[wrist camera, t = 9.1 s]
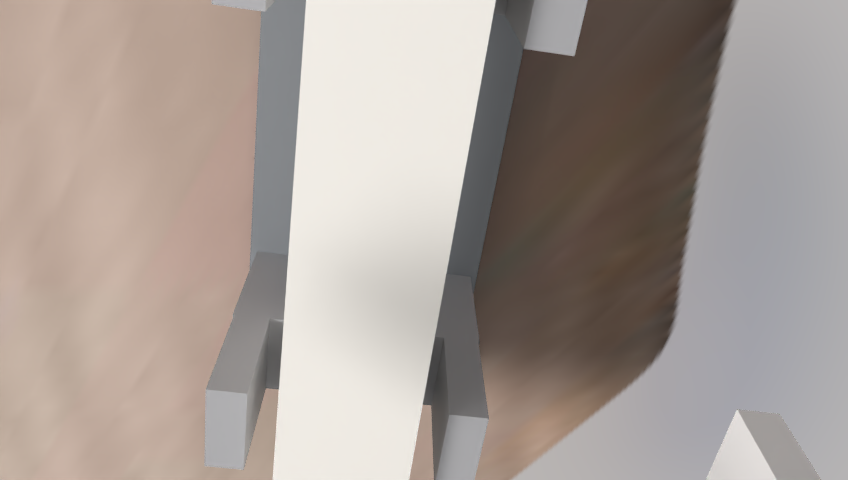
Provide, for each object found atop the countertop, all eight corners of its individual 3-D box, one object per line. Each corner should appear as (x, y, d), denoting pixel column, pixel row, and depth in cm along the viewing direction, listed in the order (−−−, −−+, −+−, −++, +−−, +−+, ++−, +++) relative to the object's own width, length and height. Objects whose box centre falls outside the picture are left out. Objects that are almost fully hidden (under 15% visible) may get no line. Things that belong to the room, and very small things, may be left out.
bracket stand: (276, -202, 23) (199, -231, 15) (559, -155, 24) (639, -157, 16) (250, 330, 32) (194, 499, 24) (456, 353, 33) (472, 525, 25)
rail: (337, -135, 19) (315, -131, 15) (490, -111, 20) (513, -99, 15) (292, 410, 27) (270, 518, 23) (401, 421, 28) (399, 530, 23)
